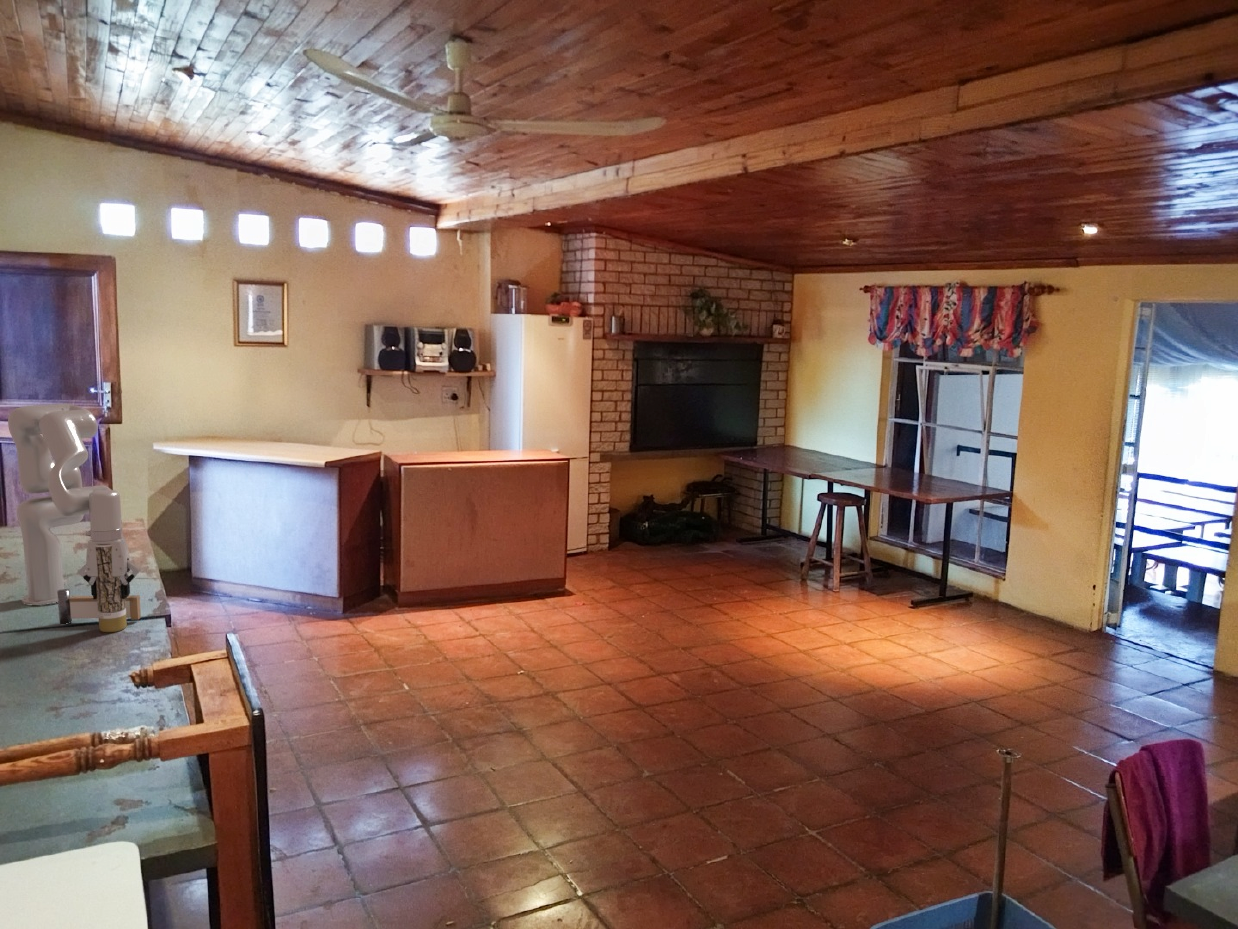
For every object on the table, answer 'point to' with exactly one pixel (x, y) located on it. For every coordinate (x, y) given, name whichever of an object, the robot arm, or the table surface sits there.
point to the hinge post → (64, 606)
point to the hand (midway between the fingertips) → (111, 597)
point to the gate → (89, 607)
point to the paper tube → (109, 593)
